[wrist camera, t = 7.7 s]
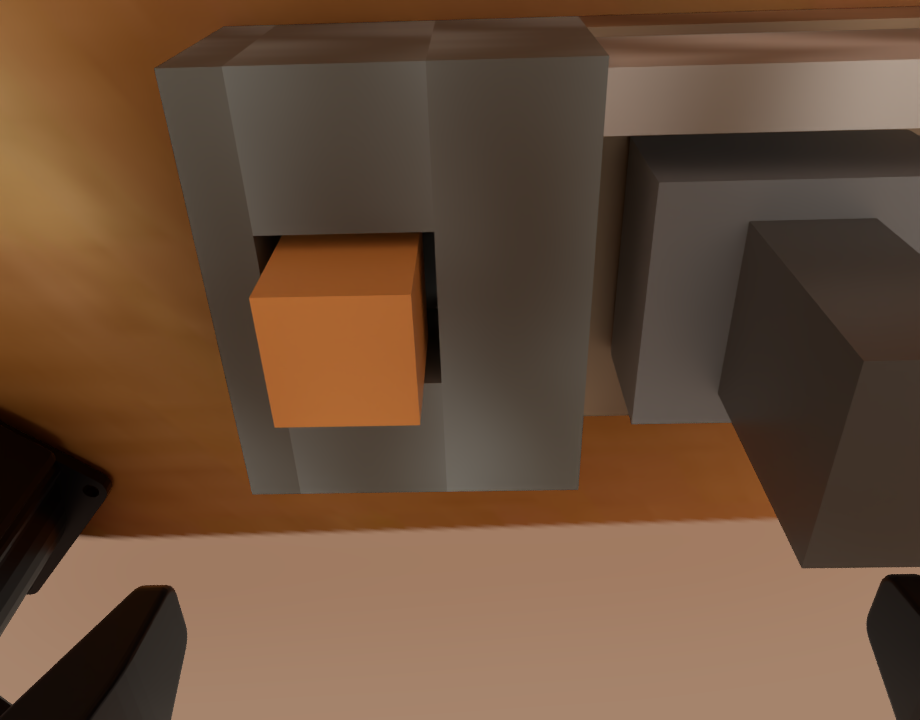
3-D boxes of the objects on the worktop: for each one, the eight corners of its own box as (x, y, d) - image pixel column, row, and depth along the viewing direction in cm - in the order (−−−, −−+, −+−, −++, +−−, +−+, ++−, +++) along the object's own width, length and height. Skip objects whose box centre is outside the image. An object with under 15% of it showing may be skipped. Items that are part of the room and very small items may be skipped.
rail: (288, 390, 23) (252, 494, 19) (223, 26, 17) (153, 68, 13) (1204, 374, 22) (1358, 478, 18) (1429, -9, 17) (1714, 24, 13)
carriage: (610, 353, 20) (684, 602, 13) (630, 136, 17) (740, 311, 10) (846, 349, 20) (1045, 598, 13) (907, 129, 17) (1210, 302, 10)
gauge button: (306, 338, 18) (274, 427, 15) (288, 222, 17) (249, 298, 14) (428, 335, 18) (420, 425, 15) (421, 220, 17) (410, 294, 14)
